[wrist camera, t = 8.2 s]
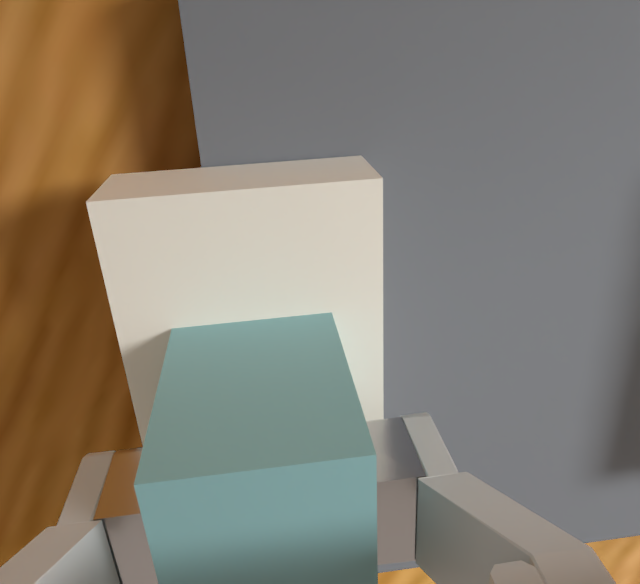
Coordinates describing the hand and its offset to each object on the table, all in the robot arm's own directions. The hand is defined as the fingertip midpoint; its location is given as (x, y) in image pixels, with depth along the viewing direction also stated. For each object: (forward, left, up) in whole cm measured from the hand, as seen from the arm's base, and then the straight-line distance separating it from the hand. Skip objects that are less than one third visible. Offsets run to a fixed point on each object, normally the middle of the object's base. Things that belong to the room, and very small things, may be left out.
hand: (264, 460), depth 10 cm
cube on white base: (0, 0, -3) cm, 3 cm away
